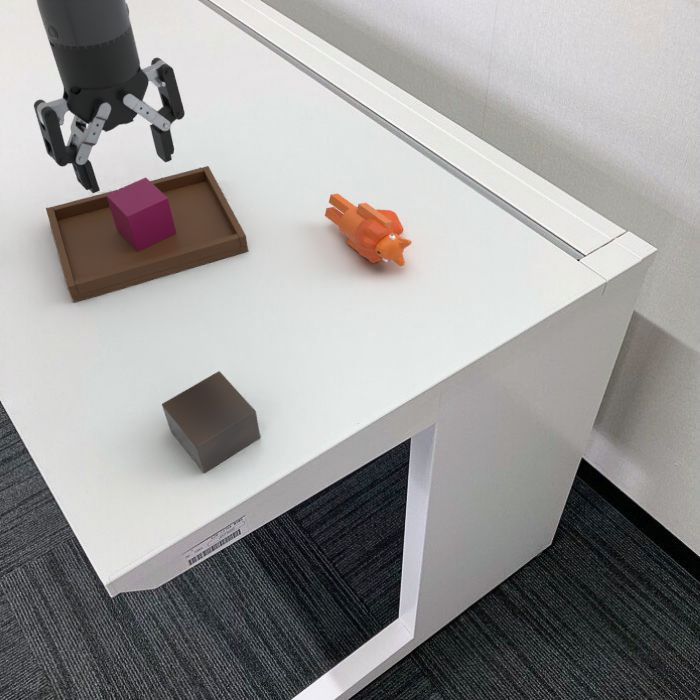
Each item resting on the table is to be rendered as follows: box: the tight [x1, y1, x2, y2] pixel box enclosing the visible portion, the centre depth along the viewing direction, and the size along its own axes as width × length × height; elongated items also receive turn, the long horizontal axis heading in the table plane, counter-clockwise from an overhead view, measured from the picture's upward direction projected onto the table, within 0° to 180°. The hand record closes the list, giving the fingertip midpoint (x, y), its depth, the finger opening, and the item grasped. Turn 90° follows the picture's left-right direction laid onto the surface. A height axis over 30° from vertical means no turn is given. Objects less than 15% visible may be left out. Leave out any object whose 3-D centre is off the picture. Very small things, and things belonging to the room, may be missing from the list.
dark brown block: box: [161, 370, 262, 474], centre depth 68 cm, size 6×6×4 cm
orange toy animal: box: [324, 193, 412, 267], centre depth 85 cm, size 5×8×12 cm
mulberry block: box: [106, 177, 176, 252], centre depth 86 cm, size 5×5×5 cm
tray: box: [45, 165, 249, 304], centre depth 87 cm, size 20×15×2 cm
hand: (129, 173), depth 82 cm, fingers open, 8 cm apart
